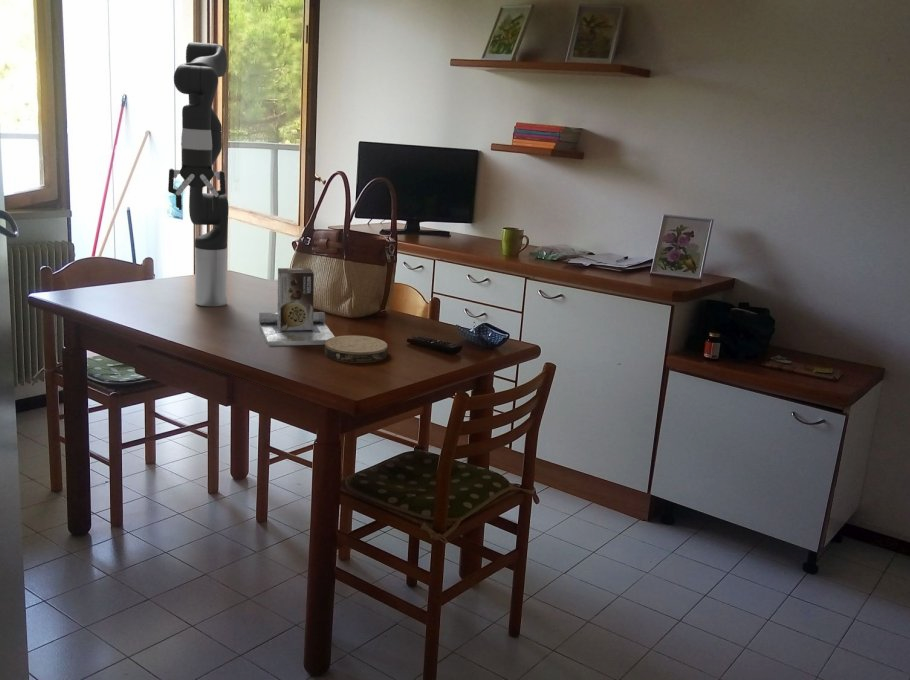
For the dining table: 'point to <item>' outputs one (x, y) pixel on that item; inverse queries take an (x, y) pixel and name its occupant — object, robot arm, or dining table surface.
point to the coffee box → (295, 299)
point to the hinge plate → (294, 331)
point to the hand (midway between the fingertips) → (197, 210)
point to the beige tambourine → (355, 349)
